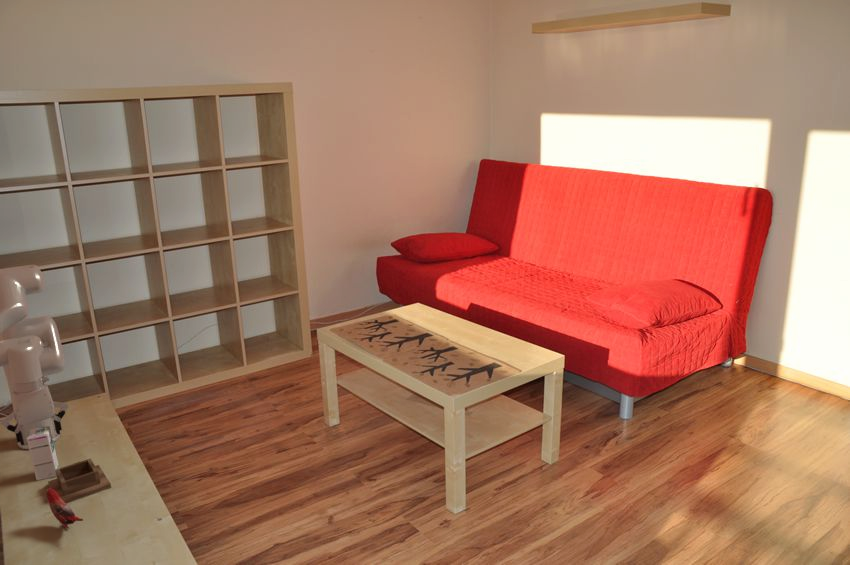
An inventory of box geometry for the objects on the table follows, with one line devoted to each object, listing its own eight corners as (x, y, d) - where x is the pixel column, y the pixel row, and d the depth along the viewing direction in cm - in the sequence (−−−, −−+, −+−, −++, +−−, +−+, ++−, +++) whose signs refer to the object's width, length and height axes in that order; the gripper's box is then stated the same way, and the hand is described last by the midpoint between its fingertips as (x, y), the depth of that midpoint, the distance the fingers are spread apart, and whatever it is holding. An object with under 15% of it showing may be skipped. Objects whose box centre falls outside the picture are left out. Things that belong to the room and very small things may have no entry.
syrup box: (57, 476, 205) (48, 433, 201) (35, 481, 203) (26, 437, 199) (59, 467, 210) (51, 425, 206) (38, 471, 208) (29, 429, 204)
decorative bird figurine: (57, 516, 185) (50, 483, 183) (92, 538, 175) (86, 504, 173) (46, 521, 183) (39, 488, 180) (81, 544, 173) (75, 509, 171)
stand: (48, 485, 201) (45, 469, 199) (99, 468, 209) (96, 453, 207) (58, 506, 190) (54, 489, 189) (111, 487, 198) (108, 471, 197)
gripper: (59, 373, 206) (69, 425, 211) (-7, 389, 196) (5, 443, 200) (64, 380, 201) (74, 433, 205) (-4, 397, 190) (8, 452, 195)
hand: (40, 438), depth 203 cm, fingers open, 9 cm apart
